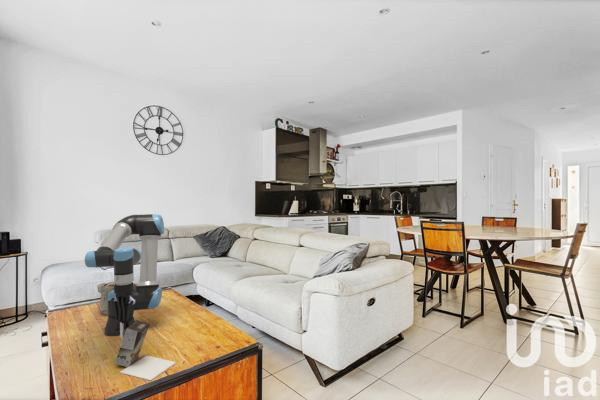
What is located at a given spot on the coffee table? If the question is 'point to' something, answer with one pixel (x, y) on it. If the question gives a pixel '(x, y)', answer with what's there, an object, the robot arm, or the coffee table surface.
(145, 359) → the mat
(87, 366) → the coffee table surface
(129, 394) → the coffee table surface
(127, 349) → the coffee box
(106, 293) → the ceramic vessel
